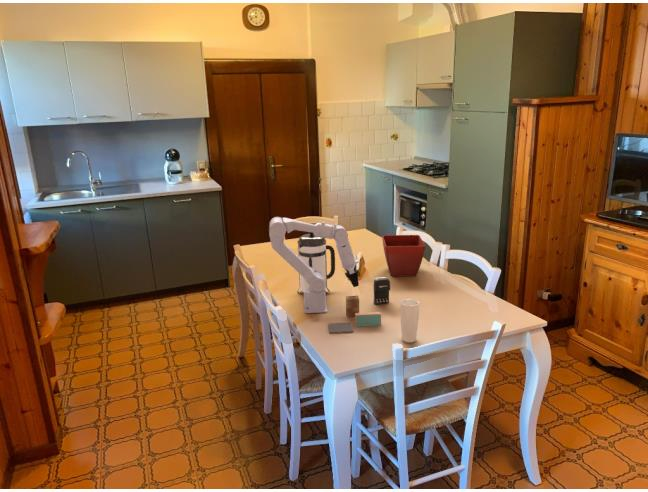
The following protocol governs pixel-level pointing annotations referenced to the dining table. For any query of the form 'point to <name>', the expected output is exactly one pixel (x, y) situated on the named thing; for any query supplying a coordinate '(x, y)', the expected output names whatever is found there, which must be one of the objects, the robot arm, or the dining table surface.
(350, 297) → the brown rectangular block
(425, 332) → the dining table surface
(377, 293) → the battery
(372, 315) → the tile
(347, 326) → the mat
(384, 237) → the plant pot
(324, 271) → the coffee press
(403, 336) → the drinking glass
